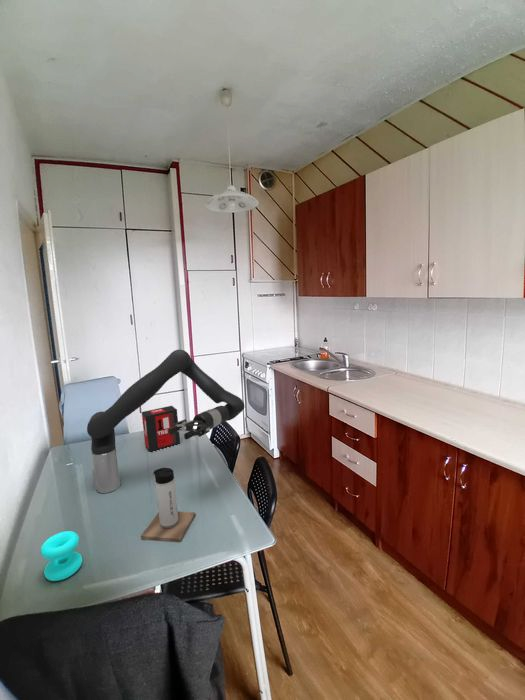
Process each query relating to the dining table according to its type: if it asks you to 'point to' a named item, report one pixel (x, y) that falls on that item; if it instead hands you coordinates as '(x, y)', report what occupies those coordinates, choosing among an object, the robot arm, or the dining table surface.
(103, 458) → the robot arm
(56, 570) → the cyan spool
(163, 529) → the walnut board
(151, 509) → the dining table surface
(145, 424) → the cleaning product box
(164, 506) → the travel mug
